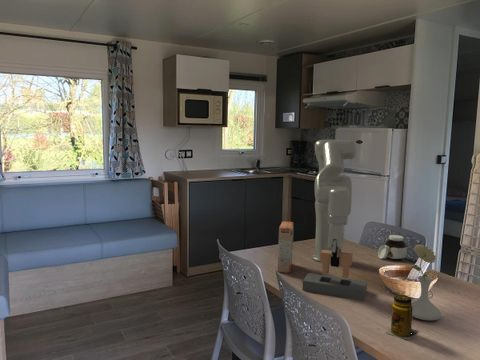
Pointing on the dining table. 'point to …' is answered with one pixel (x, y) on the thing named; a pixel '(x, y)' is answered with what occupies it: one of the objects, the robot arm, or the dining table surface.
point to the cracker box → (285, 247)
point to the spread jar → (393, 248)
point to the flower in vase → (424, 288)
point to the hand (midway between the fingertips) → (335, 264)
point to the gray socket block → (335, 286)
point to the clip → (344, 260)
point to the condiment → (402, 317)
